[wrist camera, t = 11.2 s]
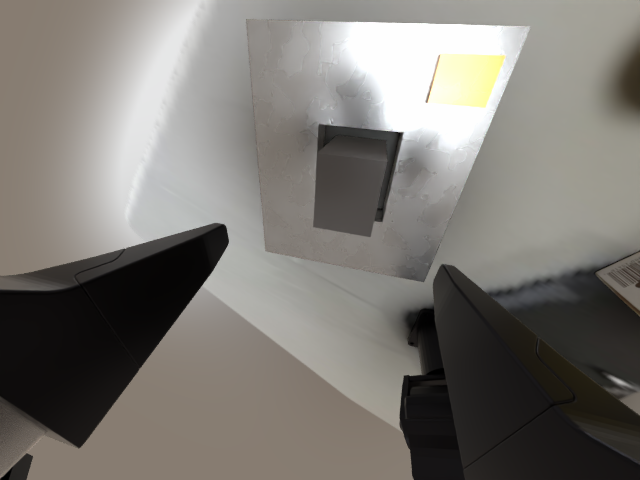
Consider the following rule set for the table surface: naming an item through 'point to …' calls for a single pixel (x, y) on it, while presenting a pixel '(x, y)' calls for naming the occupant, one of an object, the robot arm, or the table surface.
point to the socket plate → (374, 127)
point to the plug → (349, 184)
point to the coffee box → (624, 280)
